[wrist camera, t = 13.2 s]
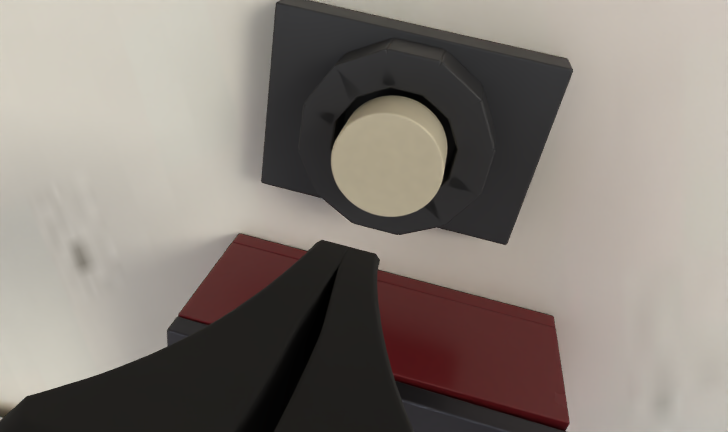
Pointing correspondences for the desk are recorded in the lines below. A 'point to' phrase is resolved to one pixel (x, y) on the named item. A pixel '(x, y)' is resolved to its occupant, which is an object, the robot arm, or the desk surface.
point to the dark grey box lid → (421, 403)
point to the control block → (423, 84)
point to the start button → (390, 156)
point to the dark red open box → (423, 334)
